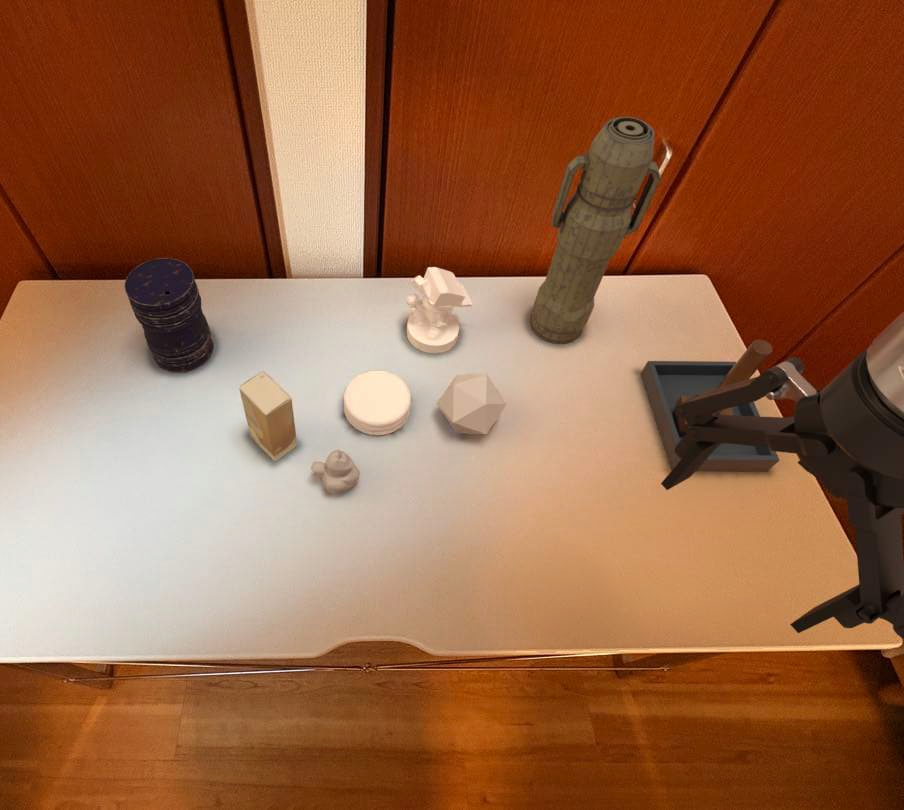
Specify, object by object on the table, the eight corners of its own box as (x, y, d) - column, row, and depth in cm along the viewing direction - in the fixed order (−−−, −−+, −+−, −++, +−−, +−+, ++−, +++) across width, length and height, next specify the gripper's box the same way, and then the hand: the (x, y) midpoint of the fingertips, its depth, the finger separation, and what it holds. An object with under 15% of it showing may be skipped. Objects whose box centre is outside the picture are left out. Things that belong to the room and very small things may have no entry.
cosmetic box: (249, 435, 90) (235, 385, 80) (272, 419, 92) (262, 367, 82) (276, 464, 87) (265, 415, 77) (299, 446, 89) (292, 396, 79)
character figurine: (399, 319, 104) (404, 265, 94) (452, 308, 105) (462, 254, 95) (416, 358, 99) (422, 305, 89) (471, 346, 100) (483, 293, 90)
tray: (767, 471, 87) (780, 460, 84) (672, 470, 87) (681, 459, 84) (726, 373, 97) (735, 361, 95) (640, 373, 97) (647, 360, 95)
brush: (719, 416, 92) (787, 335, 77) (724, 444, 89) (796, 366, 74) (670, 409, 92) (729, 328, 78) (674, 437, 90) (736, 358, 75)
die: (481, 391, 96) (449, 354, 90) (525, 407, 89) (493, 367, 83) (451, 435, 95) (416, 400, 88) (493, 455, 88) (458, 418, 81)
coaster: (423, 412, 92) (425, 399, 90) (373, 448, 89) (373, 435, 86) (380, 372, 97) (381, 358, 94) (330, 405, 93) (329, 391, 90)
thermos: (597, 344, 101) (691, 147, 72) (525, 344, 100) (591, 147, 72) (585, 305, 106) (668, 107, 77) (517, 305, 106) (575, 107, 77)
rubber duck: (357, 500, 84) (356, 471, 77) (309, 495, 84) (305, 466, 78) (361, 466, 87) (361, 435, 81) (315, 461, 87) (311, 431, 81)
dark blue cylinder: (143, 342, 100) (113, 273, 88) (198, 318, 103) (177, 248, 91) (167, 383, 95) (139, 316, 83) (224, 356, 99) (205, 288, 86)
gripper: (707, 270, 38) (598, 448, 55) (1163, 636, 25) (837, 719, 43) (790, 233, 40) (660, 416, 57) (1250, 554, 28) (906, 665, 45)
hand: (735, 545), depth 50 cm, fingers open, 13 cm apart
